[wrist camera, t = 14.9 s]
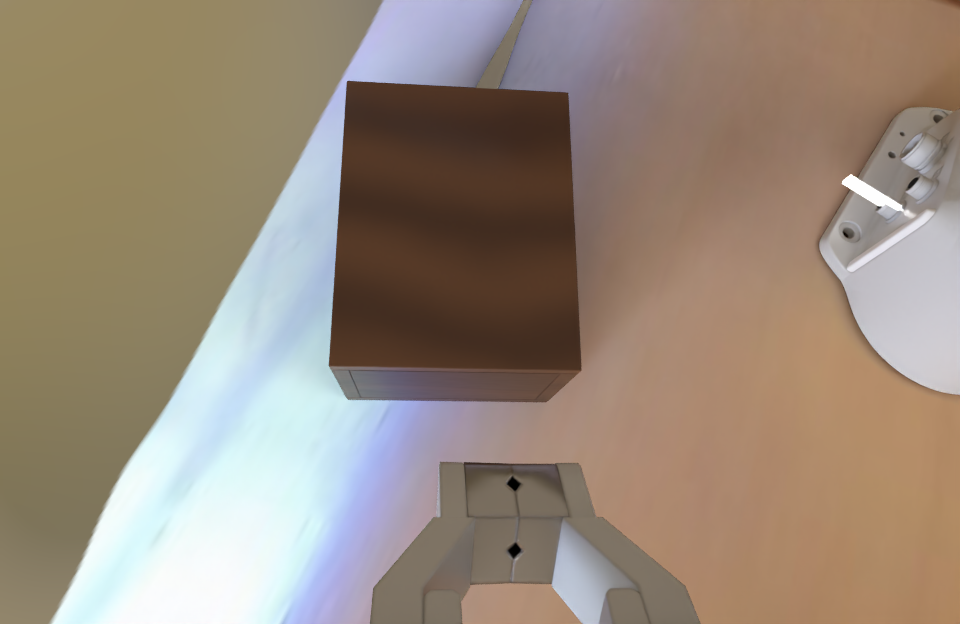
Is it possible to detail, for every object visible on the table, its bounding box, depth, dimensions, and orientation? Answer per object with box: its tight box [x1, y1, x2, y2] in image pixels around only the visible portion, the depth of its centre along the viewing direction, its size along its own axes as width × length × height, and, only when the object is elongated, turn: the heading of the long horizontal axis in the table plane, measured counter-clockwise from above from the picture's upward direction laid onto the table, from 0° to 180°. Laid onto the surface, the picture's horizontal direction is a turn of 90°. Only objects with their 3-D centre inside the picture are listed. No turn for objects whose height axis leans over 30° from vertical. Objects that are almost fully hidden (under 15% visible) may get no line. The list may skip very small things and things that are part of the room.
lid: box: [329, 81, 581, 374], centre depth 37 cm, size 17×13×1 cm
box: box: [332, 370, 577, 402], centre depth 42 cm, size 16×13×9 cm
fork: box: [476, 0, 533, 89], centre depth 52 cm, size 3×24×2 cm, turn 158°
